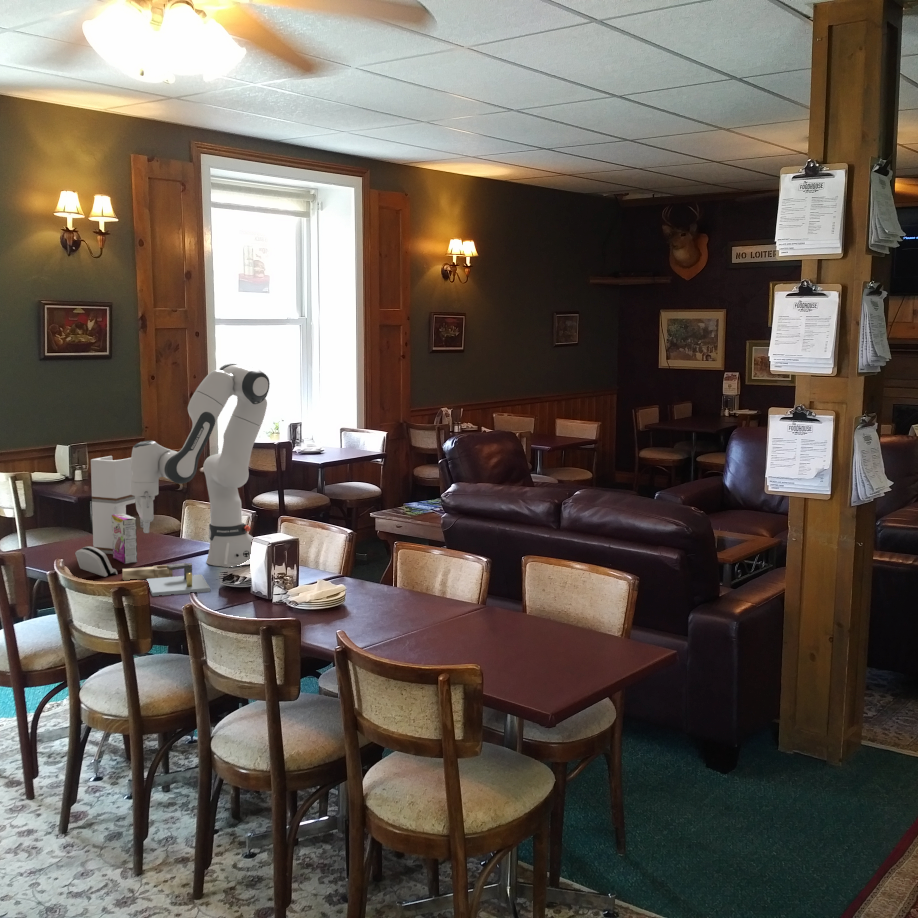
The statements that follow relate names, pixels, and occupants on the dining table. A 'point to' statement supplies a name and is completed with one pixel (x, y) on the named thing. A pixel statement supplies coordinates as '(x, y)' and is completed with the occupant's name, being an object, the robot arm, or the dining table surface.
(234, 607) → the dining table surface
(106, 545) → the banded white column
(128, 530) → the candy bar box
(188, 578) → the pintle keeper
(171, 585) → the board
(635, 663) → the dining table surface
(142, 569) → the link
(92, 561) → the white black-striped rounded block
